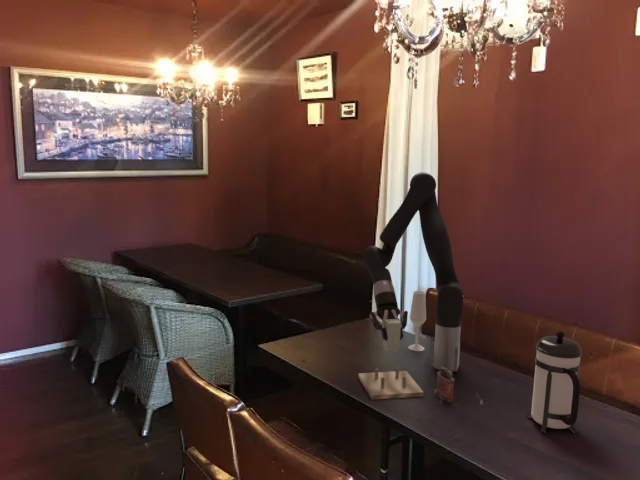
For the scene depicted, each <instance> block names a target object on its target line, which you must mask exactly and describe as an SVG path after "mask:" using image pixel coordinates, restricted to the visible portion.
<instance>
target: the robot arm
mask: <svg viewBox="0 0 640 480" xmlns="http://www.w3.org/2000/svg"><path fill="white" fill-rule="evenodd" d="M436 189H437V181H436V179H435V177H434V176H433V175H431V174H430V173H428V172H423V171H422V172H417V173H416V174H414V175H413V176H412V177H411V179H410V181H409V189H408V192H407V193H406V195H405V198H404V199H403V201H402V203H401V204H400V206H399V207H398V209H397V210H396V211H395V213H394V214H393V215H392V216H391V218H390V219H389V221H388V222H387V224H386V225H385V227H384V229H383V230H382V232H381V233H380V235H379V240H380V241H381V242H382V248H380V247H378V246H375V245H369V246H368V247H367V248H365V250H364V252H363V261H364V264H365V266H366V268H367V270H368V273H369V275H370V277H371V281H372V282H371V283H372V287H373V290H372V291H373V298H374V302H375V307H376V311H371V312H370V313H369V319H370V321H371V322H372V325H373V327H374V329H375V330H377V331H378V330H379V331H381V332H380V333H381V337H382V340H383V339H384V340H385V341H387V339H388V336H387V331H386V329H385V326H386V325H385V320H387V319H396V320H398V321H399V322H400V323H401V332H400V341H402V339H403V338H404V331H403V330H404V329H406V327H407V325H408V316H409V315H408V314H409V312H408V310H405V311H402V310H400V308H399V307H398V301H397V295H396V291H395V286H394V284H393V281H392V275H391V272H390V270H389V269H388V268H387V267H388V266H390V264H391V262H392V260H393V256H394V253H395V250H396V249H397V248H396V247H397V245H398V243H399V242H400V240H401V238H402V237H403V235H404V234H405V232H406V230H407V228H408V227H409V225H410V224H411V221H412V220H413V219H414V217H415V216H416V214H417V213H418V215H419V222H420V229H421V234H422V235H421V236H422V240H423V243H424V247H425V251H426V253H427V257H428V258H429V260H430V263H431V266H432V267H433V271H434V275H435V280H436V288H437V289H436V290H437V299H436V301H437V303H436V305H437V306H436V316H435V331H434V332H435V333H434V344H433V345H434V347H433V348H434V349H433V364H432V365H433V368H434V369H436V370H437V371H439V372H440V371H441V370H440V369H441V367H444V368H448V369H449V371H451V372H452V373H453V372H458V369H459V366H460V353H461V352H460V351H461V329H462V320H463V319H462V318H463V308H464V293H463V292H464V291H463V288H462V286H461V284H460V282H459V279H458V276H457V274H456V269H455V267H454V261H453V250H452V244H451V240H450V236H449V231H448V229H447V225H446V223H445V220H444V218H443V215H442V213H441V210H440V209H439V204H438V200H437V193H436ZM399 316H400V318H402V319H401V321H400V318H399ZM378 318H379V319H380V320H381V322H379V320H378Z"/></svg>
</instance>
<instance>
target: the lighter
mask: <svg viewBox="0 0 640 480" xmlns="http://www.w3.org/2000/svg"><path fill="white" fill-rule="evenodd" d="M440 370H441V371H440ZM440 370H439V371H437V372H436V376H437V379H436V390H435V394H436V396H438V397H439V398H440V399H441V400H442V401H444V402H446V403H453V402H454V384H455V382H456V381H455V378H454V377H453V376H454V373H453V371H452V372H451V371H449V369H448V368H444V367H441V369H440Z"/></svg>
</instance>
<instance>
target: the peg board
mask: <svg viewBox="0 0 640 480" xmlns="http://www.w3.org/2000/svg"><path fill="white" fill-rule="evenodd" d="M357 378H358V379H359V381H360V382H361V384H362V385H363V388H364V389H365V391H366V393H367V394H368V396H369V397H370V399H371V400H388V399H401V398H417V397H424V391H423V389H422V388H421V387H420V386H419V385H418V383H417V382H416V381H415V380H414V378H413V377H412V376H411V375H410V373H409V372H408V371H407V370H400V367H397V366H396V367H395V371H379V368H375V369H374V372H361V373H360V372H359V373H358V376H357Z"/></svg>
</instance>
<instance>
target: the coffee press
mask: <svg viewBox="0 0 640 480" xmlns="http://www.w3.org/2000/svg"><path fill="white" fill-rule="evenodd" d="M535 348H536V355H535V358H534V359H535V360H534V363H535V364H534V365H535V366H534V375H533V386H532V395H531V403H530V404H531V405H530V411H529V412H528V413H527V414H526V418H527V417H528V416H530V413H531V416H530V417H531V418H530V419H533V420H534V421H535V422H536V423H537V424H539V425H541V427H540V431H539V432H540V433H541V432H543V433H542V434H544V433H545V431H547V432H548V429H549V428H550V429H556V430H557V429H558V430H561V429H568V430H569V431H570V430H571V428H572V427H573V429H574V431H575V432H576V431H577V430H578V428H577V426H576V424H575V423H576V422H577V419H578V413H579V412H578V411H579V401H580V390H581V387H580V380H579V379H580V370H581V357H582V356H583V350H582V348H581V346H580V345H579V343H578V342H576V340H573V339H571V338H568V337H565V332H563V331H561V330H558V331H557V332H556V333H555V335H547V336H543V337H542V338H540V339H539V340H538V342H536V344H535ZM571 426H572V427H571ZM577 432H578V431H577Z"/></svg>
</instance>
